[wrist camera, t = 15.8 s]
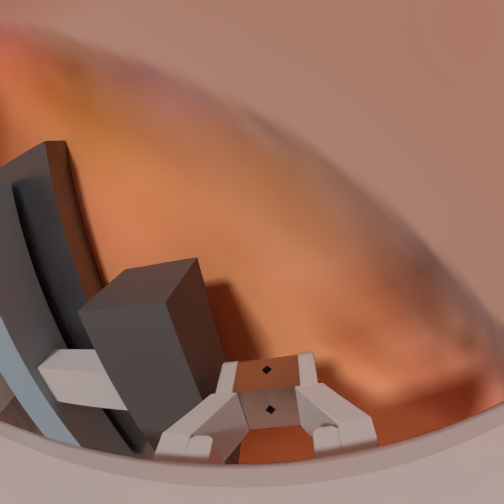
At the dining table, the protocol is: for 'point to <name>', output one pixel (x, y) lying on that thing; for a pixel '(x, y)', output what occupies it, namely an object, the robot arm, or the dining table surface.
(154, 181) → the dining table surface
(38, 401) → the vise jaw
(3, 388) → the block
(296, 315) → the dining table surface
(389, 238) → the dining table surface
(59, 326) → the vise bed
